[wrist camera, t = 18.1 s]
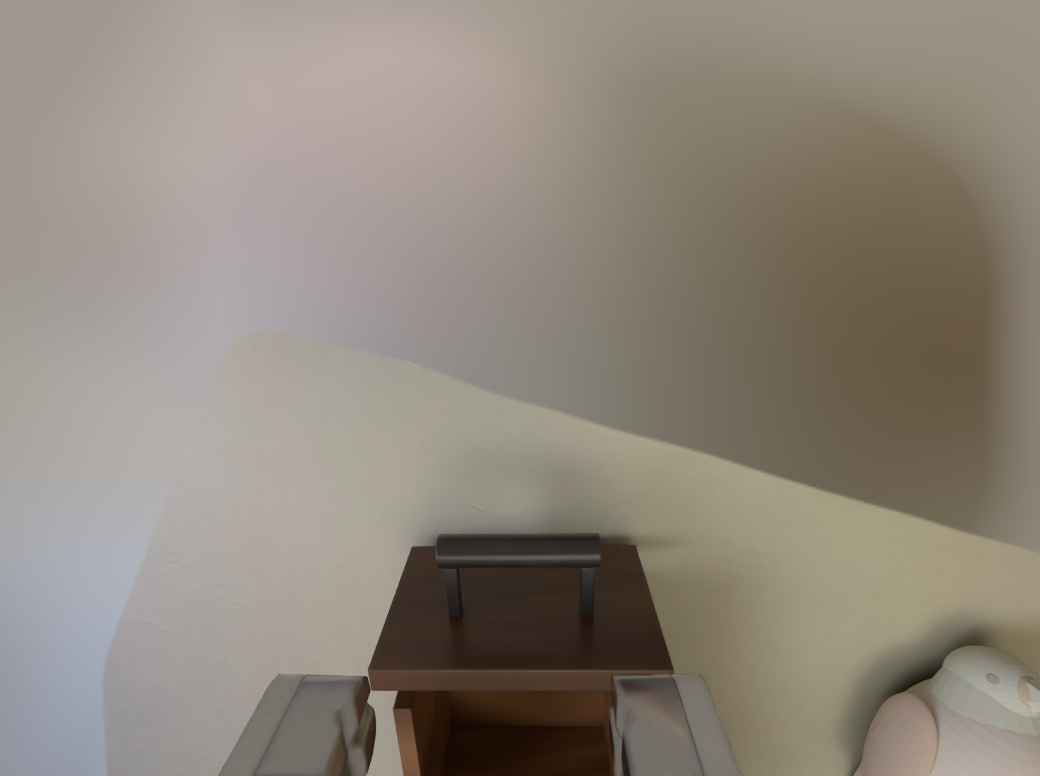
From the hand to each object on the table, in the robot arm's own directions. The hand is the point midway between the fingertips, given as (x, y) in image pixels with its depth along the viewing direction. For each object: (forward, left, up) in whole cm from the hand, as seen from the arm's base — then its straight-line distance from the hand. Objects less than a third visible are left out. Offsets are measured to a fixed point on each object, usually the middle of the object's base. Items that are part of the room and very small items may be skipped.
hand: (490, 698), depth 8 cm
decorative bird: (+25, -23, -17) cm, 38 cm away
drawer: (0, -14, -16) cm, 21 cm away
